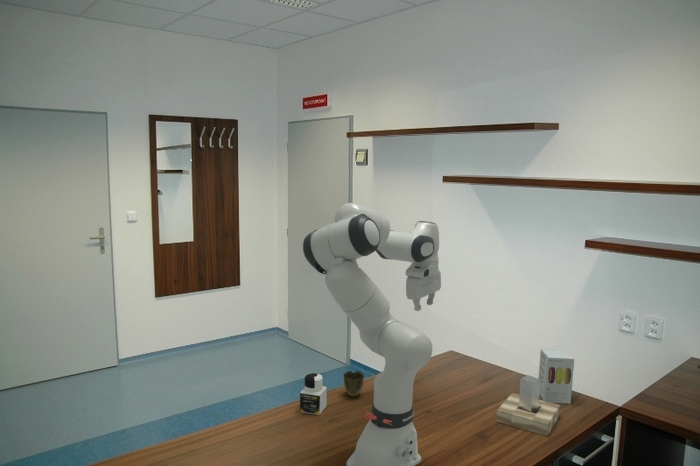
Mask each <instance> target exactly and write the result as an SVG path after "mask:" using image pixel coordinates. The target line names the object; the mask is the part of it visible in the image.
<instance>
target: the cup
mask: <svg viewBox="0 0 700 466" xmlns="http://www.w3.org/2000/svg"><path fill="white" fill-rule="evenodd" d="M364 377H365V374H364V373H363V372H361V371H360V370H359V371H358V370H355V372H353V371H352V370H347V371H345V372H344V373H343V383H344V384H343V385H344V388H345V390H346V391H347V392H348V393H347V394H348V396H349V397H351V398H352V397H353V398H355V397H357V396H358V395H359V394H360V393H359V392H360V391H361V390H362V388H363V385H364Z"/></svg>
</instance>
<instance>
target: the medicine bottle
mask: <svg viewBox="0 0 700 466" xmlns="http://www.w3.org/2000/svg"><path fill="white" fill-rule="evenodd" d="M323 380H324V378H323V375H321V374H320V373H315V372H314V373H308V374H306V375H305V376H304V388H303V389H302V390H301V391H300V392H299V412H300V413H304V414H311V415H318V416H320V415H321V414H322V412H323V411H324V410H325V408H327V404H328V403H327V401H328V400H327V399H328V398H327V397H328V395H327V393H328V391H327V388H328V387H327V386H324V385H323Z"/></svg>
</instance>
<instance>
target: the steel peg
mask: <svg viewBox="0 0 700 466" xmlns="http://www.w3.org/2000/svg"><path fill="white" fill-rule="evenodd" d="M519 382H520V385H519V395H520V398H519V409H520V410H524V411H527V412H531V413H535V414H537V412H538V405H539V400H540V395H539V389H540V379H539V377H538V378H537V377H535V376H532V375H528V374H526V375H525V376H522V377H520V381H519Z"/></svg>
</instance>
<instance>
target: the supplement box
mask: <svg viewBox="0 0 700 466" xmlns="http://www.w3.org/2000/svg"><path fill="white" fill-rule="evenodd" d="M539 353H540V355H539V365H538V366H539V367H538V368H539V370H538V379H540V389H539V397H541V399H542V401H546V402H550V403H554V404H566V403H567V404H568V405H569V404H570V405H571V403H572V389H573V378H574V367H575V357H573V356H572V355H571V354H570V353H569V351H567V350H566V349H550V348H548V349H547V348H540V352H539Z"/></svg>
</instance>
